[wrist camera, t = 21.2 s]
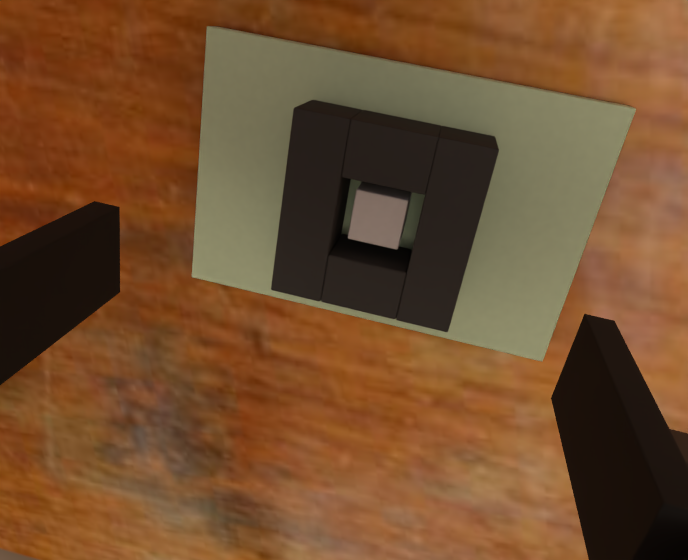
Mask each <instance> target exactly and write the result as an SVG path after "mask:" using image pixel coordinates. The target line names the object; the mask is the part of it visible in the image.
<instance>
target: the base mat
mask: <svg viewBox="0 0 688 560" xmlns="http://www.w3.org/2000/svg"><path fill="white" fill-rule="evenodd" d="M311 100H317V101H322V102H327V103H332V104H337V105H342V106H347V107H352V108H357V109H361V110H367V111H372V112H377V113H382V114H387V115H392V116H397V117H402V118H407V119H412V120H417V121H422V122H427V123H432V124H437V125H441V126H446V127H451V128H456V129H461V130H466V131H471V132H476V133H481V134H486V135H491V136H495V138H496V141H497V145H498V148H499V153H498V156H497V160H496V164H495V167H494V171H493V174H492V178H491V181H490V185H489V188H488V192H487V196H486V199H485V203H484V206H483V210H482V213H481V217H480V220H479V224H478V228H477V231H476V235H475V238H474V242H473V245H472V249H471V252H470V256H469V260H468V263H467V267H466V270H465V274H464V277H463V281H462V284H461V288H460V292H459V295H458V299H457V302H456V306H455V309H454V313H453V316H452V320H451V324H450V327H449V331H448V332H443V331H439V330H435V329H431V328H427V327H422V326H418V325H414V324H410V323H406V322H402V321H397V320H396V319H390V318H386V317H382V316H378V315H374V314H370V313H365V312H361V311H357V310H353V309H349V308H345V307H340V306H336V305H332V304H328V303H324V302H321V301H315V300H311V299H306V298H302V297H298V296H294V295H290V294H286V293H281V292H277V291H273V290H271V284H272V276H273V268H274V261H275V253H276V245H277V237H278V229H279V221H280V213H281V205H282V197H283V189H284V181H285V173H286V165H287V157H288V149H289V141H290V133H291V125H292V117H293V109H294V108H295V107H297V106H299V105H301V104H304V103H306V102H308V101H311ZM635 111H636V109H635V108H633V107H631V106H629V105H623V104H618V103H613V102H608V101H603V100H597V99H592V98H587V97H582V96H577V95H571V94H566V93H561V92H556V91H551V90H545V89H540V88H535V87H530V86H525V85H519V84H514V83H509V82H504V81H499V80H493V79H488V78H483V77H478V76H473V75H467V74H462V73H457V72H452V71H447V70H441V69H436V68H431V67H426V66H421V65H415V64H410V63H405V62H400V61H394V60H389V59H384V58H379V57H374V56H368V55H363V54H358V53H353V52H348V51H342V50H337V49H332V48H327V47H322V46H316V45H311V44H306V43H301V42H296V41H290V40H285V39H280V38H275V37H270V36H264V35H259V34H254V33H249V32H244V31H238V30H233V29H228V28H223V27H218V26H207V32H206V49H205V65H204V82H203V99H202V115H201V132H200V148H199V165H198V182H197V198H196V215H195V231H194V248H193V264H192V277H194V278H198V279H202V280H206V281H211V282H215V283H219V284H223V285H227V286H231V287H235V288H240V289H244V290H248V291H252V292H256V293H260V294H264V295H269V296H273V297H277V298H281V299H285V300H289V301H293V302H298V303H302V304H306V305H310V306H314V307H318V308H322V309H327V310H331V311H335V312H339V313H343V314H347V315H351V316H356V317H360V318H364V319H368V320H372V321H376V322H380V323H385V324H389V325H393V326H397V327H401V328H405V329H409V330H414V331H418V332H422V333H426V334H430V335H434V336H438V337H443V338H447V339H451V340H455V341H459V342H463V343H467V344H472V345H476V346H480V347H484V348H488V349H492V350H496V351H501V352H505V353H509V354H513V355H517V356H521V357H525V358H530V359H534V360H538V361H543V359H544V356H545V353H546V351H547V348H548V345H549V343H550V340H551V337H552V335H553V332H554V329H555V326H556V324H557V321H558V318H559V316H560V313H561V310H562V308H563V305H564V302H565V300H566V297H567V294H568V291H569V289H570V286H571V283H572V281H573V278H574V275H575V273H576V270H577V267H578V265H579V262H580V259H581V256H582V254H583V251H584V248H585V246H586V243H587V240H588V238H589V235H590V232H591V230H592V227H593V224H594V221H595V219H596V216H597V213H598V211H599V208H600V205H601V203H602V200H603V197H604V195H605V192H606V189H607V186H608V184H609V181H610V178H611V176H612V173H613V170H614V168H615V165H616V162H617V160H618V157H619V154H620V151H621V149H622V146H623V143H624V141H625V138H626V135H627V133H628V130H629V127H630V124H631V122H632V119H633V116H634V114H635ZM424 197H425V195H423V194H418V193H414V192H409V191H404V190H400V189H395V188H390V187H386V186H381V185H377V184H372V183H367V182H363V181H358V180H353V179H351V181H350V187H349V193H348V199H347V204H346V210H345V216H344V221H343V227H342V233H341V235H342V234H346V235H348V239H352V240H357V241H361V242H365V243H370V244H374V245H379V246H383V247H387V248H392V249H398V247H404V248H408V249H411V250H412V249H413V244H414V240H415V236H416V232H417V227H418V223H419V219H420V215H421V210H422V206H423V202H424Z"/></svg>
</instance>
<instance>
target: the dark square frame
mask: <svg viewBox="0 0 688 560" xmlns="http://www.w3.org/2000/svg"><path fill="white" fill-rule="evenodd" d="M498 153H499V148H498V145H497V141H496V138H495V136H491V135H486V134H481V133H476V132H471V131H466V130H461V129H456V128H451V127H446V126H441V125H437V124H432V123H427V122H422V121H417V120H412V119H407V118H402V117H397V116H392V115H387V114H382V113H377V112H372V111H367V110H361V109H357V108H352V107H347V106H342V105H337V104H332V103H327V102H322V101H317V100H311V101H308V102H306V103H304V104H301V105H299V106H297V107H295V108H294V109H293V117H292V125H291V133H290V141H289V149H288V157H287V165H286V173H285V181H284V189H283V197H282V205H281V213H280V221H279V229H278V237H277V245H276V253H275V261H274V268H273V276H272V284H271V290H273V291H277V292H281V293H286V294H290V295H294V296H298V297H302V298H306V299H311V300H315V301H321V302H324V303H328V304H332V305H336V306H340V307H345V308H349V309H353V310H357V311H361V312H365V313H370V314H374V315H378V316H382V317H386V318H390V319H396V320H397V321H402V322H406V323H410V324H414V325H418V326H422V327H427V328H431V329H435V330H439V331H443V332H448V331H449V327H450V324H451V320H452V316H453V313H454V309H455V306H456V302H457V299H458V295H459V292H460V288H461V284H462V281H463V277H464V274H465V270H466V267H467V263H468V260H469V256H470V252H471V249H472V245H473V242H474V238H475V235H476V231H477V228H478V224H479V220H480V217H481V213H482V210H483V206H484V203H485V199H486V196H487V192H488V188H489V185H490V181H491V178H492V174H493V171H494V167H495V164H496V160H497V156H498ZM351 179H353V180H358V181H363V182H367V183H372V184H377V185H381V186H386V187H390V188H395V189H400V190H404V191H409V192H414V193H418V194H423V195H425V197H424V202H423V206H422V210H421V215H420V219H419V223H418V227H417V232H416V236H415V240H414V244H413V249H412V250H411V249H408V248H404V247H398V249H392V248H387V247H383V246H379V245H374V244H370V243H365V242H361V241H357V240H352V239H348V235H346V234H342V235H341V233H342V227H343V221H344V216H345V210H346V204H347V199H348V193H349V187H350V181H351Z"/></svg>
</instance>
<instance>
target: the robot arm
mask: <svg viewBox="0 0 688 560" xmlns="http://www.w3.org/2000/svg"><path fill="white" fill-rule="evenodd" d="M119 292H120V217H119V207H117V206H113V205H108V204H104V203H100V202H95V201H94V202H92V203H90V204H88V205H86V206H84V207H82V208H80V209H78V210H76V211H73V212H71V213H69V214H67V215H65V216H63V217H61V218H59V219H57V220H55V221H53V222H51V223H48V224H46V225H44V226H42V227H40V228H38V229H36V230H34V231H32V232H30V233H28V234H25V235H23V236H21V237H19V238H17V239H15V240H13V241H11V242H9V243H7V244H5V245H3V246H0V385H1V384H2V383H4V382H5V381H6V380H8V379H9V378H10V377H11V376H13V375H14V374H15V373H17V372H18V371H19V370H20V369H22V368H23V367H24V366H26V365H27V364H28V363H29V362H31V361H32V360H33V359H34V358H36V357H37V356H38V355H40V354H41V353H42V352H43V351H45V350H46V349H47V348H49V347H50V346H51V345H52V344H54V343H55V342H56V341H58V340H59V339H60V338H61V337H63V336H64V335H65V334H67V333H68V332H69V331H70V330H72V329H73V328H74V327H76V326H77V325H78V324H79V323H81V322H82V321H83V320H85V319H86V318H87V317H88V316H90V315H91V314H92V313H94V312H95V311H96V310H97V309H99V308H100V307H101V306H103V305H104V304H105V303H106V302H108V301H109V300H110V299H112V298H113V297H114V296H115V295H117V294H118V293H119ZM551 399H552V404H553V408H554V412H555V416H556V421H557V425H558V429H559V433H560V438H561V442H562V446H563V451H564V455H565V459H566V463H567V468H568V472H569V476H570V481H571V485H572V489H573V493H574V498H575V502H576V506H577V510H578V515H579V519H580V523H581V528H582V532H583V536H584V540H585V545H586V549H587V553H588V557H589V560H688V434H687V433H683V432H679V431H675V430H671V429H669V428H668V426H667V424H666V422H665V420H664V418H663V416H662V414H661V412H660V410H659V408H658V406H657V404H656V402H655V400H654V398H653V396H652V394H651V392H650V390H649V388H648V386H647V384H646V382H645V380H644V378H643V376H642V374H641V372H640V370H639V368H638V366H637V364H636V362H635V361H634V359H633V357H632V355H631V353H630V351H629V349H628V347H627V345H626V343H625V341H624V339H623V337H622V335H621V333H620V331H619V329H618V327H617V325H616V323H615V321H613V320H609V319H604V318H600V317H596V316H591V315H587V314H584V317H583V319H582V322H581V324H580V327H579V329H578V332H577V335H576V337H575V340H574V342H573V345H572V347H571V350H570V352H569V355H568V357H567V360H566V362H565V365H564V367H563V370H562V372H561V375H560V377H559V380H558V382H557V385H556V387H555V390H554V392H553V395H552V398H551Z"/></svg>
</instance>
